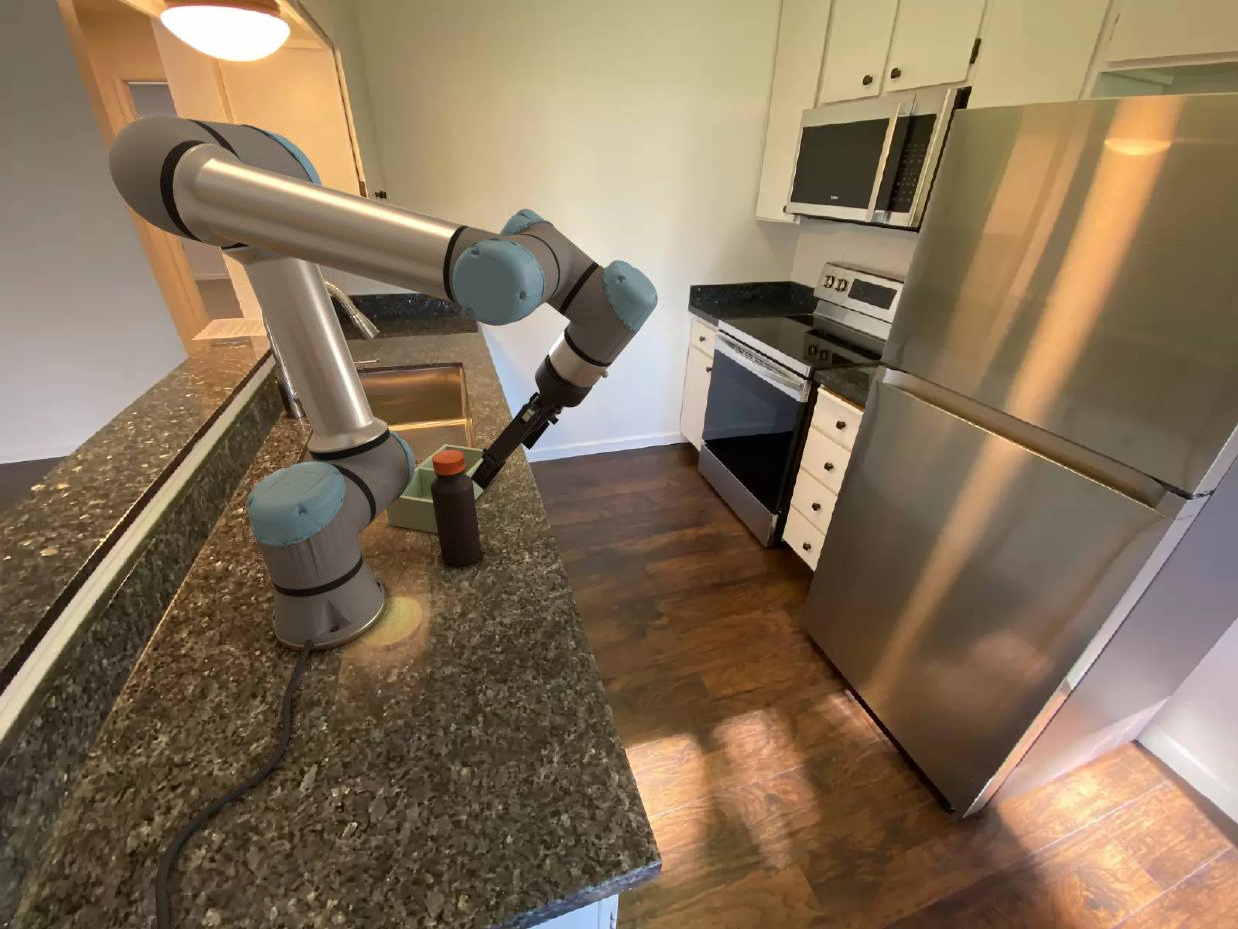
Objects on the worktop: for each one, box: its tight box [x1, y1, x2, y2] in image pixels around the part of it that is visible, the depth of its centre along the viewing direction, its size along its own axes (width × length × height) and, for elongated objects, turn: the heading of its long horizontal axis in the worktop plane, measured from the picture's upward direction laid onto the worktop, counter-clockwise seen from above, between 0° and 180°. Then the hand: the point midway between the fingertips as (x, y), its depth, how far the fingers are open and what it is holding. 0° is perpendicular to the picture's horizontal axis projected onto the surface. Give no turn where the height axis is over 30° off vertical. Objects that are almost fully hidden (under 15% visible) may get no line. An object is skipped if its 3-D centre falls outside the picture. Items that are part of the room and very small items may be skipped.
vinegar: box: [431, 450, 482, 567], centre depth 88 cm, size 7×7×20 cm
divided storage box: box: [385, 443, 496, 534], centre depth 107 cm, size 22×12×7 cm, turn 167°
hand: (502, 462), depth 83 cm, fingers open, 13 cm apart
